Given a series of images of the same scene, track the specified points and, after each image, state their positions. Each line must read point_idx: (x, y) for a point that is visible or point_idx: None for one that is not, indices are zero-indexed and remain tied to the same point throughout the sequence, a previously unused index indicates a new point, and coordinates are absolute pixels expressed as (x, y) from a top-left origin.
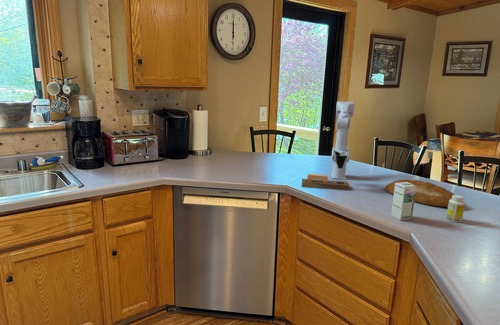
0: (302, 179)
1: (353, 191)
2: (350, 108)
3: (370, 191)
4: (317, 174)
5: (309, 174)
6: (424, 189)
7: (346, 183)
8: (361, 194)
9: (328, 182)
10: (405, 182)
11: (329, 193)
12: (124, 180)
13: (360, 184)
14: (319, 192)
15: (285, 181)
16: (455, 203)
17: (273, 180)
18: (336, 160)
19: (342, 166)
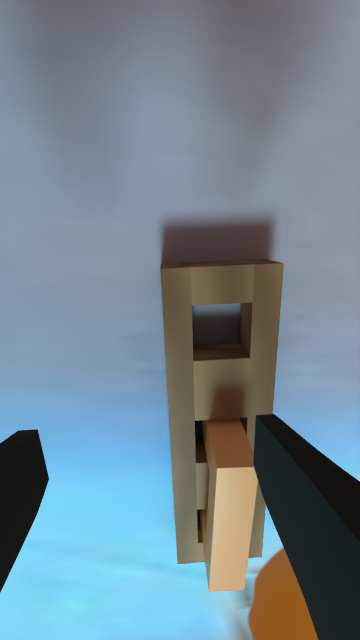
0: (200, 559)
1: (288, 226)
2: None
3: (263, 58)
4: (214, 538)
5: (230, 582)
6: None
7: (222, 284)
8: (355, 166)
9: (214, 416)
10: None
11: (352, 389)
12: None
13: (62, 131)
14: (339, 441)
15: (174, 595)
16: None
17: (174, 635)
18: (12, 564)
19: (294, 436)
